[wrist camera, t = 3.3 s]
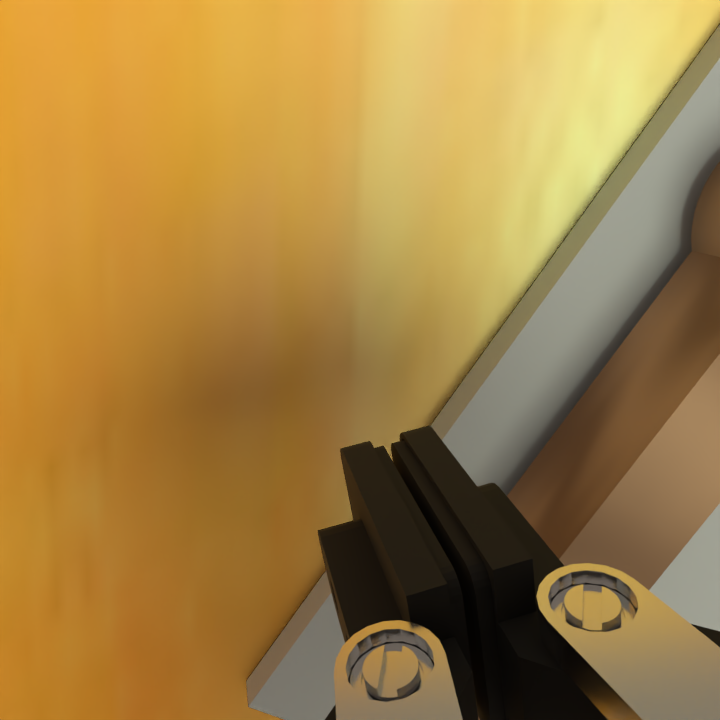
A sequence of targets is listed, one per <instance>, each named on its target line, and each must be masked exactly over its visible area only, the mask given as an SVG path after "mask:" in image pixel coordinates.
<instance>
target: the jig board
mask: <svg viewBox="0 0 720 720" xmlns="http://www.w3.org/2000/svg"><path fill="white" fill-rule="evenodd" d="M719 162H720V25H719V26H718V28H717V29H716V30H715V32H714V33H713V35H712V36H711V37H710V39H709V40H708V41H707V43H706V44H705V46H704V47H703V48H702V50H701V51H700V53H699V54H698V55H697V57H696V58H695V60H694V61H693V62H692V64H691V65H690V66H689V68H688V69H687V71H686V72H685V73H684V75H683V76H682V78H681V79H680V80H679V82H678V83H677V84H676V86H675V87H674V89H673V90H672V91H671V93H670V94H669V96H668V97H667V98H666V100H665V101H664V103H663V104H662V105H661V107H660V108H659V109H658V111H657V112H656V114H655V115H654V116H653V118H652V119H651V121H650V122H649V123H648V125H647V126H646V127H645V129H644V130H643V132H642V133H641V134H640V136H639V137H638V139H637V140H636V141H635V143H634V144H633V145H632V147H631V148H630V150H629V151H628V152H627V154H626V155H625V157H624V158H623V159H622V161H621V162H620V164H619V165H618V166H617V168H616V169H615V170H614V172H613V173H612V175H611V176H610V177H609V179H608V180H607V182H606V183H605V184H604V186H603V187H602V188H601V190H600V191H599V193H598V194H597V195H596V197H595V198H594V200H593V201H592V202H591V204H590V205H589V207H588V208H587V209H586V211H585V212H584V213H583V215H582V216H581V218H580V219H579V220H578V222H577V223H576V225H575V226H574V227H573V229H572V230H571V231H570V233H569V234H568V236H567V237H566V238H565V240H564V241H563V243H562V244H561V245H560V247H559V248H558V249H557V251H556V252H555V254H554V255H553V256H552V258H551V259H550V261H549V262H548V263H547V265H546V266H545V268H544V269H543V270H542V272H541V273H540V274H539V276H538V277H537V279H536V280H535V281H534V283H533V284H532V286H531V287H530V288H529V290H528V291H527V292H526V294H525V295H524V297H523V298H522V299H521V301H520V302H519V304H518V305H517V306H516V308H515V309H514V311H513V312H512V313H511V315H510V316H509V317H508V319H507V320H506V322H505V323H504V324H503V326H502V327H501V329H500V330H499V331H498V333H497V334H496V335H495V337H494V338H493V340H492V341H491V342H490V344H489V345H488V347H487V348H486V349H485V351H484V352H483V354H482V355H481V356H480V358H479V359H478V360H477V362H476V363H475V365H474V366H473V367H472V369H471V370H470V372H469V373H468V374H467V376H466V377H465V378H464V380H463V381H462V383H461V384H460V385H459V387H458V388H457V390H456V391H455V392H454V394H453V395H452V396H451V398H450V399H449V401H448V402H447V403H446V405H445V406H444V408H443V409H442V410H441V412H440V413H439V415H438V416H437V417H436V419H435V420H434V421H433V423H432V424H431V427H432V428H433V429H434V431H435V432H436V433H437V435H438V436H439V437H440V439H441V440H442V441H443V442H444V444H445V445H446V446H447V448H448V449H449V450H450V452H451V453H452V454H453V455H454V457H455V458H456V459H457V461H458V462H459V463H460V465H461V466H462V467H463V468H464V470H465V471H466V472H467V474H468V475H469V476H470V478H471V479H472V480H473V482H474V483H475V484H476V485H477V486H481V485H485V484H488V483H495V484H496V485H497V486H499V487H500V489H501V490H502V491H503V492H504V493H505V495H506V496H507V495H508V494H509V493H510V491H511V490H512V489H513V487H514V486H515V485H516V483H517V482H518V481H519V479H520V478H521V477H522V475H523V474H524V473H525V471H526V470H527V469H528V467H529V466H530V465H531V463H532V462H533V461H534V459H535V458H536V457H537V455H538V454H539V453H540V451H541V450H542V449H543V447H544V446H545V445H546V443H547V442H548V441H549V439H550V438H551V437H552V436H553V434H554V433H555V432H556V430H557V429H558V428H559V426H560V425H561V424H562V422H563V421H564V420H565V418H566V417H567V416H568V414H569V413H570V412H571V410H572V409H573V408H574V406H575V405H576V404H577V402H578V401H579V400H580V398H581V397H582V396H583V394H584V393H585V392H586V390H587V389H588V388H589V386H590V385H591V384H592V382H593V381H594V380H595V378H596V377H597V376H598V375H599V373H600V372H601V371H602V369H603V368H604V367H605V365H606V364H607V363H608V361H609V360H610V359H611V357H612V356H613V355H614V353H615V352H616V351H617V349H618V348H619V347H620V345H621V344H622V343H623V341H624V340H625V339H626V337H627V336H628V335H629V333H630V332H631V331H632V329H633V328H634V327H635V325H636V324H637V323H638V321H639V320H640V319H641V317H642V316H643V315H644V314H645V312H646V311H647V310H648V308H649V307H650V306H651V304H652V303H653V302H654V300H655V299H656V298H657V296H658V295H659V294H660V292H661V291H662V290H663V288H664V287H665V286H666V284H667V283H668V282H669V280H670V279H671V278H672V276H673V275H674V274H675V272H676V271H677V270H678V268H679V267H680V266H681V264H682V263H683V262H684V260H685V259H686V258H687V256H688V255H689V254H690V252H691V251H692V247H691V232H692V223H693V217H694V212H695V209H696V205H697V202H698V199H699V197H700V194H701V192H702V189H703V187H704V185H705V183H706V181H707V180H708V178H709V176H710V174H711V173H712V171H713V170H714V168H715V167H716V165H717V164H718V163H719ZM649 591H650V592H651V593H653V594H654V595H655V596H656V597H658V598H659V599H660V600H661V601H663V602H664V603H665V604H666V605H668V606H669V607H670V608H671V609H673V610H674V611H675V612H676V613H678V614H679V615H680V616H681V617H683V618H684V619H685V620H686V621H688V622H689V623H690V624H694V625H697V626H701V627H705V628H709V629H713V630H717V631H720V503H719V505H718V506H717V507H716V508H715V510H714V511H713V512H712V513H711V515H710V516H709V517H708V518H707V520H706V521H705V522H704V523H703V524H702V526H701V527H700V528H699V529H698V531H697V532H696V533H695V534H694V536H693V537H692V538H691V539H690V540H689V542H688V543H687V544H686V545H685V547H684V548H683V549H682V550H681V552H680V553H679V554H678V555H677V557H676V558H675V559H674V560H673V561H672V563H671V564H670V565H669V566H668V568H667V569H666V570H665V571H664V573H663V574H662V575H661V576H660V578H659V579H658V580H657V581H656V582H655V584H654V585H653V586H652V587H651V589H650V590H649ZM344 644H345V641H344V637H343V634H342V630H341V627H340V623H339V620H338V616H337V612H336V609H335V605H334V601H333V597H332V593H331V589H330V585H329V581H328V576H327V572H326V571H325V573H324V574H323V575H322V577H321V578H320V580H319V581H318V582H317V584H316V585H315V586H314V588H313V589H312V591H311V592H310V593H309V595H308V596H307V598H306V599H305V600H304V602H303V603H302V604H301V606H300V607H299V609H298V610H297V611H296V613H295V614H294V616H293V617H292V618H291V620H290V621H289V623H288V624H287V625H286V627H285V628H284V629H283V631H282V632H281V634H280V635H279V636H278V638H277V639H276V641H275V642H274V643H273V645H272V646H271V647H270V649H269V650H268V652H267V653H266V654H265V656H264V657H263V659H262V660H261V661H260V663H259V664H258V666H257V667H256V668H255V670H254V671H253V672H252V674H251V675H250V677H249V678H248V679H247V681H246V686H247V698H248V707H250V708H253V709H256V710H258V711H261V712H264V713H267V714H270V715H273V716H276V717H278V718H281V719H284V720H325V719H326V717H327V716H328V714H329V713H330V711H331V710H332V709H333V707H334V706H335V686H334V668H335V661H336V658H337V656H338V654H339V652H340V650H341V648H342V646H343V645H344Z"/></svg>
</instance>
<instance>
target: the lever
mask: <svg viewBox="0 0 720 720" xmlns="http://www.w3.org/2000/svg"><path fill="white" fill-rule="evenodd" d="M691 247H692V251H691V252H690V254H689V255H688V256H687V258H686V259H685V260H684V262H683V263H682V264H681V266H680V267H679V268H678V270H677V271H676V272H675V274H674V275H673V276H672V278H671V279H670V280H669V282H668V283H667V284H666V286H665V287H664V288H663V290H662V291H661V292H660V294H659V295H658V296H657V298H656V299H655V300H654V302H653V303H652V304H651V306H650V307H649V308H648V310H647V311H646V312H645V314H644V315H643V316H642V317H641V319H640V320H639V321H638V323H637V324H636V325H635V327H634V328H633V329H632V331H631V332H630V333H629V335H628V336H627V337H626V339H625V340H624V341H623V343H622V344H621V345H620V347H619V348H618V349H617V351H616V352H615V353H614V355H613V356H612V357H611V359H610V360H609V361H608V363H607V364H606V365H605V367H604V368H603V369H602V371H601V372H600V373H599V375H598V376H597V377H596V378H595V380H594V381H593V382H592V384H591V385H590V386H589V388H588V389H587V390H586V392H585V393H584V394H583V396H582V397H581V398H580V400H579V401H578V402H577V404H576V405H575V406H574V408H573V409H572V410H571V412H570V413H569V414H568V416H567V417H566V418H565V420H564V421H563V422H562V424H561V425H560V426H559V428H558V429H557V430H556V432H555V433H554V434H553V436H552V437H551V438H550V439H549V441H548V442H547V443H546V445H545V446H544V447H543V449H542V450H541V451H540V453H539V454H538V455H537V457H536V458H535V459H534V461H533V462H532V463H531V465H530V466H529V467H528V469H527V470H526V471H525V473H524V474H523V475H522V477H521V478H520V479H519V481H518V482H517V483H516V485H515V486H514V487H513V489H512V490H511V491H510V493H509V494H508V495H507V497H508V498H509V499H510V501H511V502H512V503H513V504H514V505H515V507H516V508H517V509H518V510H519V511H520V513H521V514H522V515H523V516H524V518H525V519H526V520H527V521H528V522H529V524H530V525H531V526H532V527H533V528H534V530H535V531H536V532H537V533H538V534H539V536H540V537H541V538H542V539H543V540H544V542H545V543H546V544H547V545H548V547H549V548H550V549H551V550H552V551H553V553H554V554H555V555H556V556H557V557H558V559H559V560H560V561H561V562H562V563H563V565H564V566H568V565H571V564H583V563H591V564H599V565H606V566H608V567H611V568H614V569H617V570H620V571H622V572H624V573H625V574H627V575H629V576H630V577H632V578H634V579H635V580H636V581H638V582H639V583H640V584H641V585H643V586H644V587H645V588H646V589H648V590H650V589H651V587H652V586H653V585H654V584H655V582H656V581H657V580H658V579H659V578H660V576H661V575H662V574H663V573H664V571H665V570H666V569H667V568H668V566H669V565H670V564H671V563H672V561H673V560H674V559H675V558H676V557H677V555H678V554H679V553H680V552H681V550H682V549H683V548H684V547H685V545H686V544H687V543H688V542H689V540H690V539H691V538H692V537H693V536H694V534H695V533H696V532H697V531H698V529H699V528H700V527H701V526H702V524H703V523H704V522H705V521H706V520H707V518H708V517H709V516H710V515H711V513H712V512H713V511H714V510H715V508H716V507H717V506H718V505H719V503H720V162H719V163H718V164H717V165H716V167H715V168H714V170H713V171H712V173H711V174H710V176H709V178H708V180H707V181H706V183H705V185H704V187H703V189H702V192H701V194H700V197H699V199H698V202H697V205H696V209H695V212H694V217H693V223H692V232H691ZM478 720H480V719H479V717H478Z"/></svg>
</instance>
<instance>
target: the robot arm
mask: <svg viewBox="0 0 720 720" xmlns="http://www.w3.org/2000/svg"><path fill="white" fill-rule="evenodd" d="M391 451H392V457H393V461H392V460H391V458H390V456H389V454H388V453H387V451H386V449H385V448H384V446H380V447H377V448H374V447H373V445H372V443H371V442H370V441H368V442H364V443H360V444H356V445H352V446H349V447H345V448H341V449H340V452H341V459H342V464H343V469H344V474H345V480H346V485H347V490H348V495H349V500H350V505H351V510H352V515H353V521H350V522H347V523H343V524H339V525H336V526H332V527H329V528H325V529H321V530H318V536H319V541H320V545H321V550H322V554H323V559H324V563H325V568H326V572H327V576H328V581H329V585H330V589H331V593H332V597H333V601H334V605H335V609H336V612H337V616H338V620H339V623H340V627H341V630H342V634H343V637H344V641H345V644H344V645H343V646H342V648H341V650H340V652H339V654H338V656H337V658H336V661H335V668H334V686H335V706H334V707H333V709H332V710H331V711H330V713H329V714H328V716H327V717H326V719H325V720H478V717H479V719H480V720H720V631H717V630H713V629H709V628H705V627H701V626H697V625H694V624H690V623H689V622H688V621H686V620H685V619H684V618H683V617H681V616H680V615H679V614H678V613H676V612H675V611H674V610H673V609H671V608H670V607H669V606H668V605H666V604H665V603H664V602H663V601H661V600H660V599H659V598H658V597H656V596H655V595H654V594H653V593H651V592H650V591H649V590H648V589H646V588H645V587H644V586H643V585H641V584H640V583H639V582H638V581H636V580H635V579H634V578H632V577H630V576H629V575H627V574H625V573H624V572H622V571H620V570H617V569H614V568H611V567H608V566H606V565H599V564H591V563H583V564H571V565H568V566H564V565H563V563H562V562H561V561H560V560H559V559H558V557H557V556H556V555H555V554H554V553H553V551H552V550H551V549H550V548H549V547H548V545H547V544H546V543H545V542H544V540H543V539H542V538H541V537H540V536H539V534H538V533H537V532H536V531H535V530H534V528H533V527H532V526H531V525H530V524H529V522H528V521H527V520H526V519H525V518H524V516H523V515H522V514H521V513H520V511H519V510H518V509H517V508H516V507H515V505H514V504H513V503H512V502H511V501H510V499H509V498H508V497H507V496H506V495H505V493H504V492H503V491H502V490H501V489H500V487H499V486H497V485H496V484H495V483H488V484H485V485H481V486H477V485H476V484H475V483H474V482H473V480H472V479H471V478H470V476H469V475H468V474H467V472H466V471H465V470H464V468H463V467H462V466H461V465H460V463H459V462H458V461H457V459H456V458H455V457H454V455H453V454H452V453H451V452H450V450H449V449H448V448H447V446H446V445H445V444H444V442H443V441H442V440H441V439H440V437H439V436H438V435H437V433H436V432H435V431H434V429H433V428H432V427H431V426H426V427H422V428H419V429H415V430H411V431H407V432H403V433H401V434H400V442H396V443H392V444H391Z"/></svg>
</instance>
